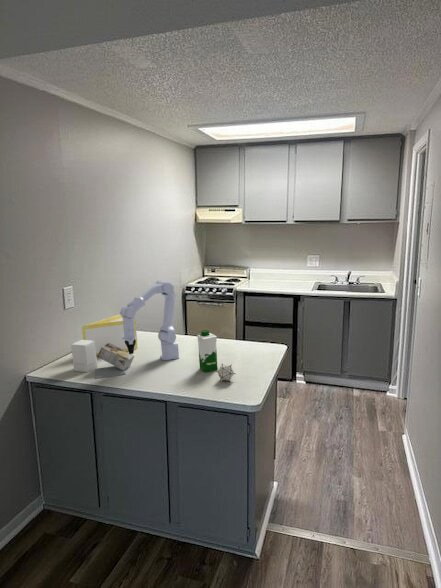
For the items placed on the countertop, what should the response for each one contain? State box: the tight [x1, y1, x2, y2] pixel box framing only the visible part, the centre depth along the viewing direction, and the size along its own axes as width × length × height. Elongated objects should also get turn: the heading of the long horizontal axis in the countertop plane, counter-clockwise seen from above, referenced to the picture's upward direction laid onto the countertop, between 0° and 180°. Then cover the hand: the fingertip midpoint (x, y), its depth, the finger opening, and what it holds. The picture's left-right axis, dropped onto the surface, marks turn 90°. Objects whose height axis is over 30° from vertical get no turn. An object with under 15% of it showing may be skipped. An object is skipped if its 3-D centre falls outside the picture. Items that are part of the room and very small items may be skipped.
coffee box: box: [97, 343, 135, 371], centre depth 223 cm, size 9×6×16 cm
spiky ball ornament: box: [215, 363, 236, 383], centre depth 200 cm, size 9×8×10 cm
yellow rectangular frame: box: [81, 313, 138, 356], centre depth 252 cm, size 35×22×20 cm, turn 150°
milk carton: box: [197, 329, 219, 373], centre depth 215 cm, size 9×9×20 cm
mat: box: [94, 365, 126, 380], centre depth 219 cm, size 15×14×1 cm
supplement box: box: [70, 339, 98, 373], centre depth 224 cm, size 9×9×15 cm
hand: (131, 353), depth 220 cm, fingers closed
